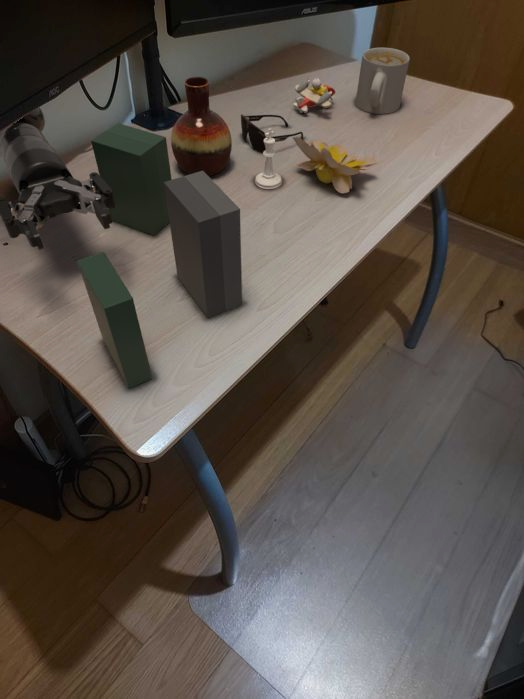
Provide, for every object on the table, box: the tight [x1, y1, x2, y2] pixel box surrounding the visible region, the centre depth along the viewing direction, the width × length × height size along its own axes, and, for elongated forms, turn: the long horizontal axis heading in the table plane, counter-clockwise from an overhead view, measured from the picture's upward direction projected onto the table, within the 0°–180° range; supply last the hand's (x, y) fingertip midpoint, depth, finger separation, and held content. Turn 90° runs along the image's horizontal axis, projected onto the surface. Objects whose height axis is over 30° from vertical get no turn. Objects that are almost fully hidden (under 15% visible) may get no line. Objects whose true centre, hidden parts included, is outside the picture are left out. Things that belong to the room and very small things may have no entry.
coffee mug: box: [355, 47, 411, 115], centre depth 112 cm, size 13×10×10 cm
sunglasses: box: [240, 113, 304, 153], centre depth 104 cm, size 10×12×5 cm
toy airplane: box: [293, 77, 336, 114], centre depth 112 cm, size 9×9×6 cm
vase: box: [170, 76, 233, 177], centre depth 93 cm, size 11×11×15 cm
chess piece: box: [254, 127, 283, 190], centre depth 91 cm, size 5×5×10 cm
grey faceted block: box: [164, 171, 243, 319], centre depth 70 cm, size 6×10×16 cm, turn 31°
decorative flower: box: [292, 136, 379, 194], centre depth 92 cm, size 15×11×10 cm
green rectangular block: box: [90, 122, 173, 237], centre depth 82 cm, size 6×9×14 cm
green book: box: [76, 251, 153, 389], centre depth 62 cm, size 3×9×14 cm, turn 31°
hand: (73, 233), depth 65 cm, fingers open, 8 cm apart
